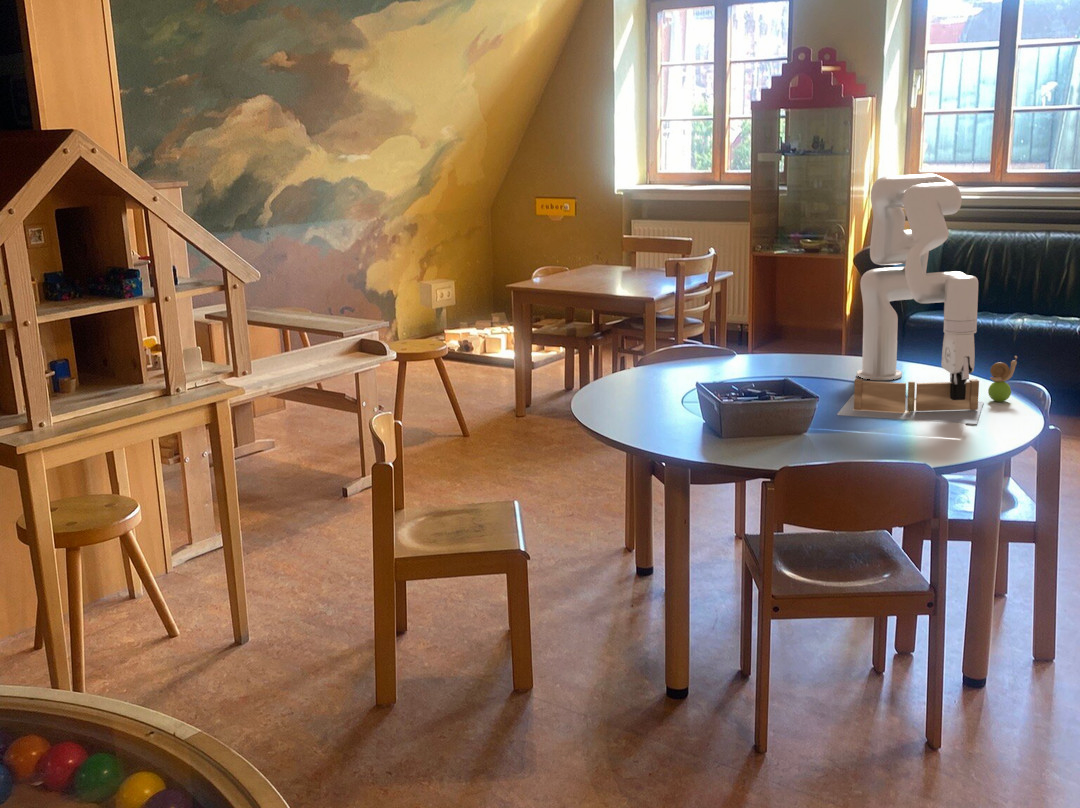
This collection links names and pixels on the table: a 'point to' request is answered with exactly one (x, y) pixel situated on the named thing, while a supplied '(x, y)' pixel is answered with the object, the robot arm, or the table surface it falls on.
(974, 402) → the hinged fence panel
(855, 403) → the fixed fence section
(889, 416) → the card
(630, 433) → the table surface
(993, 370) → the snail figurine
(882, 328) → the robot arm
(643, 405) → the table surface
